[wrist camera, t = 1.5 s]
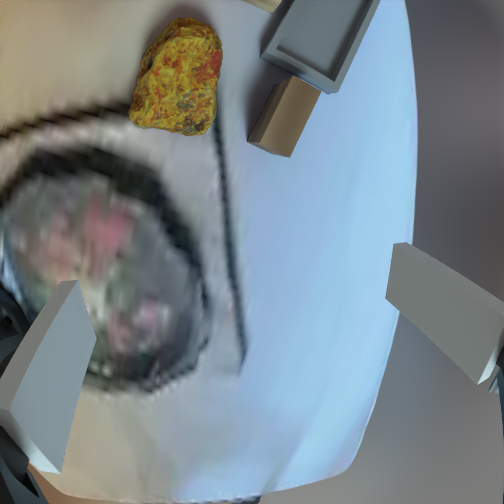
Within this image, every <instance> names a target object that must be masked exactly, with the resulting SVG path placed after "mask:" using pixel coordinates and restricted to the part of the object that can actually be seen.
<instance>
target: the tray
mask: <svg viewBox="0 0 504 504" xmlns="http://www.w3.org/2000/svg"><path fill="white" fill-rule="evenodd" d="M379 2H380V0H292V2H291V4H290V5H289V7H288V9H287V10H286V12H285V14H284V15H283V17H282V19H281V21H280V22H279V24H278V26H277V27H276V29H275V31H274V33H273V34H272V36H271V38H270V40H269V42H268V43H267V45H266V47H265V49H264V51H263V52H262V54H261V56H260V58H262V59H264V60H266V61H268V62H270V63H272V64H274V65H276V66H278V67H280V68H282V69H284V70H286V71H288V72H290V73H292V74H293V75H295V76H297V77H299V78H301V79H302V80H304V81H306V82H308V83H310V84H311V85H313V86H315V87H316V88H318V89H320V90H322V91H323V92H325V93H326V94H331V93H336V92H338V91H339V89H340V86H341V84H342V82H343V80H344V78H345V76H346V74H347V72H348V69H349V67H350V65H351V63H352V61H353V59H354V57H355V54H356V52H357V50H358V48H359V46H360V44H361V41H362V39H363V37H364V35H365V33H366V31H367V29H368V26H369V24H370V22H371V20H372V18H373V16H374V13H375V11H376V9H377V7H378V5H379Z"/></svg>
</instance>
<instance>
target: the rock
mask: <svg viewBox="0 0 504 504" xmlns="http://www.w3.org/2000/svg"><path fill="white" fill-rule="evenodd" d="M221 46H222V43H221V41H220V39H219V38H218V36H217V34H216V33H215V30H214V29H213V28H212V27H211V26H210V25H206V24H204V23H201V22H200V21H198V20H196V19H193V18H190V17H188V18H177V19H174V20H173V21H172V22H171V23H170V24H169V25H168V26H167V27H166V28H165V29H164V31H163V32H162V33H161V34H160V35H159V36H158V37H157V39H156V41H155V42H154V44H153V45H152V46H151V47H150V48H148V49H146V50H145V52H144V55H143V58H142V61H141V69H140V73H139V76H138V79H137V86H136V88H135V90H134V92H133V102H132V104H131V108H130V109H129V112H128V113H129V115H130V116H129V120H131V122H132V123H133V124H134V125H135V126H137V127H142V128H143V129H152V128H156V129H162V130H167V131H170V132H172V133H175V132H178V133H180V134H184V135H185V136H192V135H201V134H203V133H205V132H206V131H207V130H208V128H209V127H210V126H211V124H212V121H213V120H214V119H215V116H216V111H217V102H216V89H217V82H218V80H219V78H220V68H221V64H222V59H223V53H222V48H221Z"/></svg>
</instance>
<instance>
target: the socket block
mask: <svg viewBox="0 0 504 504" xmlns="http://www.w3.org/2000/svg"><path fill="white" fill-rule="evenodd" d="M243 1H245V2H248V3H250V4H252V5H254V6H257V7H259V8H261V9H263V10H265V11H267V12H270V13H273V12H274V11H275V9H276V8H277V7H278V6H279V4H280V3H281V1H282V0H243Z"/></svg>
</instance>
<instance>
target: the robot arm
mask: <svg viewBox="0 0 504 504" xmlns="http://www.w3.org/2000/svg"><path fill="white" fill-rule="evenodd" d="M385 298H386V299H387V300H388V301H389V302H390V303H391V304H392V305H393V306H394V307H396V308H397V309H398V310H399V311H400V312H401V313H402V314H403V315H404V316H406V317H407V318H408V319H409V320H410V321H411V322H412V323H413V324H414V325H416V326H417V327H418V328H419V329H420V330H421V331H422V332H423V333H424V334H425V335H426V336H427V337H428V338H429V339H430V340H432V341H433V342H434V343H435V344H436V345H437V346H438V347H439V348H440V349H441V350H442V351H443V352H444V353H445V354H446V355H447V356H448V357H449V358H450V359H451V360H452V361H454V362H455V363H456V364H457V365H458V366H459V367H460V368H461V369H462V370H463V371H464V372H465V373H466V374H467V375H468V376H469V377H470V378H471V379H472V380H473V381H474V382H475V383H476V384H479V383H481V382H482V381H484V380H485V379H487V378H488V377H489V376H490V374H491V372H492V370H493V368H494V366H495V364H497V365H498V366H499V367H500V369H499V371H498V373H497V375H496V376H495V378H494V380H493V382H492V384H491V386H490V388H489V392H492V390H493V388H494V386H495V385H498V386H497V388H496V390H495V393H499V394H500V403H501V411H502V422H503V436H504V303H503V302H502V301H500V300H499V299H497V298H496V297H494V296H493V295H491V294H490V293H488V292H487V291H485V290H483V289H482V288H481V287H479V286H478V285H476V284H475V283H473V282H471V281H470V280H468V279H467V278H465V277H464V276H462V275H460V274H459V273H457V272H456V271H454V270H452V269H451V268H449V267H447V266H446V265H444V264H443V263H441V262H439V261H437V260H436V259H434V258H432V257H431V256H429V255H427V254H426V253H424V252H422V251H421V250H419V249H417V248H415V247H414V246H412V245H410V244H408V243H407V242H405V243H397V244H393V252H392V259H391V266H390V273H389V279H388V285H387V291H386V297H385ZM95 342H96V336H95V333H94V330H93V327H92V324H91V321H90V318H89V315H88V312H87V309H86V305H85V302H84V299H83V295H82V292H81V288H80V285H79V281H78V280H72V281H62V282H61V283H60V284H59V286H58V287H57V289H56V290H55V291H54V293H53V294H52V296H51V297H50V299H49V300H48V302H47V303H46V304H45V306H44V307H43V309H42V310H41V312H40V313H39V315H38V316H37V318H36V319H35V321H34V323H33V324H32V326H31V327H30V329H29V326H28V323H27V321H26V319H25V317H24V315H23V313H22V311H21V310H20V308H19V307H18V305H17V304H16V302H15V301H14V300H13V299H12V298H11V296H10V295H9V294H8V293H7V292H6V291H5V290H3V289H2V288H1V287H0V504H49V503H48V502H47V500H46V498H45V497H44V495H43V493H42V491H41V490H40V488H39V486H38V485H37V483H36V481H35V479H34V477H33V475H32V474H31V473H30V471H29V470H28V469H27V466H28V462H29V460H30V461H31V462H32V463H33V464H34V465H35V466H36V467H37V468H38V469H39V470H41V471H46V472H52V473H59V474H61V471H62V465H63V460H64V455H65V450H66V446H67V441H68V437H69V432H70V428H71V424H72V420H73V416H74V412H75V408H76V404H77V401H78V397H79V393H80V390H81V386H82V383H83V380H84V376H85V373H86V370H87V366H88V363H89V360H90V357H91V354H92V351H93V348H94V345H95ZM503 504H504V494H503Z"/></svg>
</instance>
